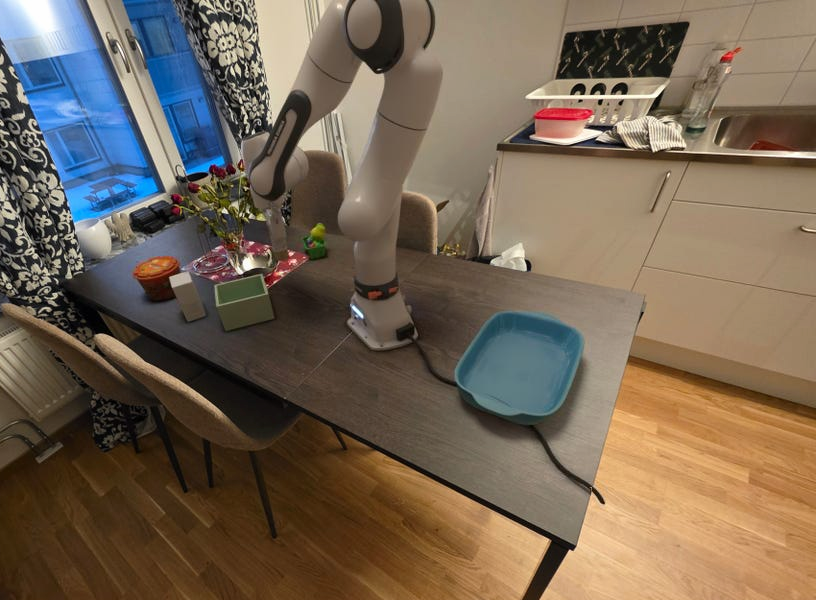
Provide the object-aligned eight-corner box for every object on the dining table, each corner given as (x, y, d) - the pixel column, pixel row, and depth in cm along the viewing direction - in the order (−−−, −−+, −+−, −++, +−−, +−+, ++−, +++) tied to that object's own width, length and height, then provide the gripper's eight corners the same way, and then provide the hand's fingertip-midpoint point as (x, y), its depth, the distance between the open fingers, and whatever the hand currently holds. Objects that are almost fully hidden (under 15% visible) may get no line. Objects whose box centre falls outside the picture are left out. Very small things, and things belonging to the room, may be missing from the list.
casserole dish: (545, 454, 75) (554, 431, 71) (437, 410, 86) (439, 388, 82) (584, 346, 96) (594, 323, 92) (494, 323, 107) (498, 301, 103)
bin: (274, 318, 121) (268, 293, 115) (225, 331, 119) (216, 306, 113) (268, 297, 131) (262, 273, 125) (222, 308, 129) (214, 285, 123)
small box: (183, 310, 131) (168, 276, 122) (202, 304, 132) (188, 270, 124) (187, 322, 125) (171, 287, 116) (206, 316, 126) (192, 281, 118)
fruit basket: (303, 249, 156) (298, 222, 149) (324, 245, 157) (321, 217, 150) (308, 261, 148) (303, 233, 140) (331, 256, 149) (327, 228, 141)
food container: (135, 303, 138) (121, 276, 131) (160, 280, 150) (148, 254, 142) (174, 304, 134) (161, 277, 127) (196, 281, 146) (186, 254, 139)
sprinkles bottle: (284, 253, 125) (275, 212, 116) (292, 257, 122) (283, 215, 113) (272, 259, 123) (262, 217, 114) (280, 263, 120) (270, 220, 112)
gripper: (285, 205, 103) (295, 254, 112) (273, 185, 118) (283, 229, 127) (262, 211, 102) (274, 259, 111) (253, 190, 118) (264, 233, 127)
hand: (279, 243), depth 119 cm, fingers closed on sprinkles bottle, 4 cm apart
